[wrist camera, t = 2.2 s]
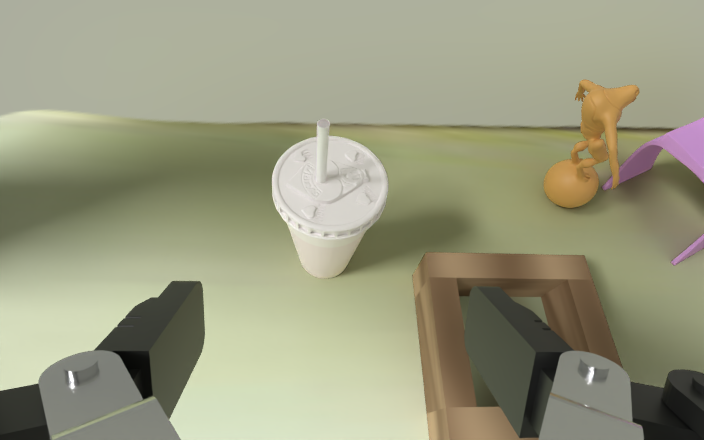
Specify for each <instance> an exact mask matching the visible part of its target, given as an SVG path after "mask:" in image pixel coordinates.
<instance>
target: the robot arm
mask: <svg viewBox="0 0 704 440" xmlns="http://www.w3.org/2000/svg"><path fill="white" fill-rule="evenodd" d="M204 337H205V326H204V305H203V288H202V284H201V282H200V281H172V282H171V283H170V284H169V285H168V287H167V288H166V289H165V290H164V291H163V292H162V294H161V295H160V296H159V297H158V298H150V299H148V300H146V301H144V302H142V303H140V304H138V305H137V306H135V307H134V308H133V309H132V310H131V311H130V312H129V313H128V315H127V316H126V318H125V319H123V320H122V321H121V322H120V323H119V324H118V327H115V328H114V329H113V331H112V332H111V333H110V334H109V335H108V336H107V337H106V338H105V339H104V340H103V341H102V342H101V343H100V344H99V345H98V347H97V348H96V349H95V350H94V351H88V352H82V353H78V354H75V355H72V356H69V357H66V358H64V359H62V360H60V361H58V362H56V363H54V364H53V365H51V366H50V367H49V368H47V369H46V370H45V371H44V372H43V373H42V375H41V376H40V378H39V384H34V385H30V386H24V387H19V388H14V389H8V390H3V391H0V440H181V439H180V438H179V436H178V434H177V433H176V431H175V429H174V427H173V426H172V424H171V422H170V421H169V419H170V417H171V415H172V412H173V410H174V408H175V406H176V404H177V402H178V400H179V398H180V396H181V394H182V392H183V390H184V388H185V386H186V384H187V381H188V379H189V377H190V375H191V373H192V371H193V369H194V367H195V365H196V363H197V361H198V359H199V357H200V355H201V352H202V349H203V345H204ZM464 342H465V348H466V351H467V354H468V355H469V357H470V359H471V360H472V362H473V364H474V365H475V367H476V368H477V370H478V372H479V373H480V375H481V377H482V378H483V380H484V381H485V383H486V385H487V386H488V388H489V390H490V391H491V393H492V394H493V396H494V398H495V399H496V401H497V403H498V404H499V406H500V408H501V409H502V411H503V412H504V414H505V416H506V417H507V419H508V421H509V422H510V424H511V425H512V427H513V429H514V430H515V432H516V434H517V435H518V437H519V438H539V439H538V440H704V374H703V373H700V372H696V371H690V370H673V371H671V372H669V374H668V377H667V380H666V383H665V387H664V388H660V387H655V386H649V385H644V384H639V383H634V382H630V377H629V375H628V374H627V372H626V371H625V370H624V369H623V368H621V367H620V366H619V365H617V364H616V363H614V362H612V361H611V360H609V359H607V358H604V357H602V356H599V355H596V354H593V353H589V352H584V351H575V350H573V349H572V348H571V347H570V346H569V345H568V344H567V343H566V342H565V341H564V340H563V339H562V338H561V337H560V336H559V335H557V334H556V333H555V332H554V331H553V330H551V328H550V327H549V326H548V325H547V324H546V323H545V322H542V320H541V319H540V318H539V317H538V316H537V315H536V314H535V313H534V312H533V311H532V310H530V309H528V308H526V307H524V306H522V305H520V304H519V303H516V302H515V301H513V300H512V299H511V298H510V297H509V296H508V295H507V294H506V293H505V292H504V291H503V290H502V289H501V288H500V287H492V286H474V287H473V288H472V289H471V292H470V296H469V303H468V310H467V318H466V325H465V332H464Z"/></svg>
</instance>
